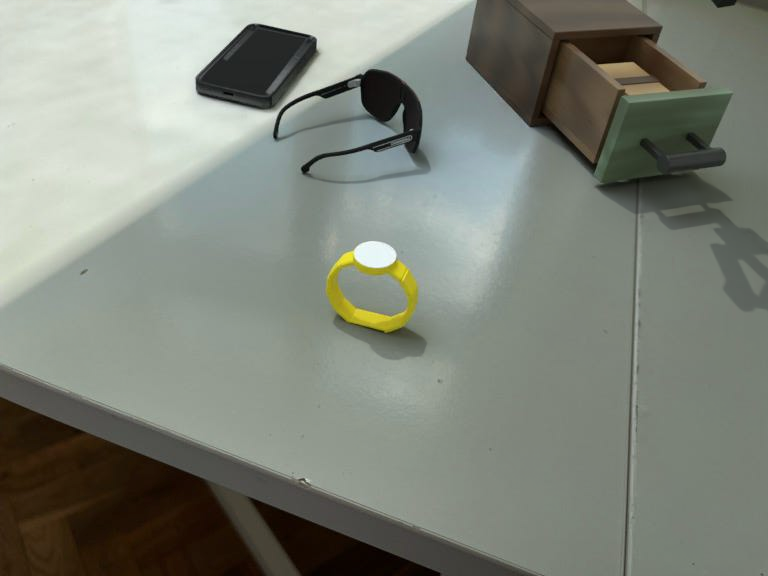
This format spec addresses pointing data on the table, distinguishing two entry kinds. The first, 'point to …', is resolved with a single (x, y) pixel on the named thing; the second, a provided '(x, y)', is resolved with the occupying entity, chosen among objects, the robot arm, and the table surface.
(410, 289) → the watch
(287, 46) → the phone
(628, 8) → the cabinet
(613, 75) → the box
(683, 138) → the drawer
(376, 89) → the sunglasses
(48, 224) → the table surface
